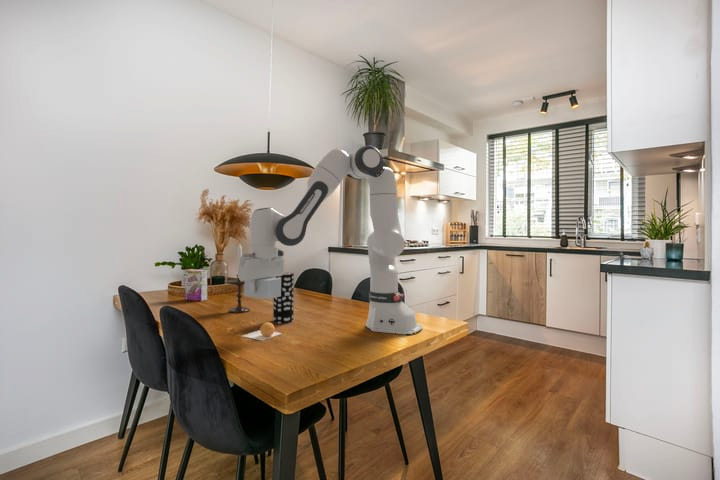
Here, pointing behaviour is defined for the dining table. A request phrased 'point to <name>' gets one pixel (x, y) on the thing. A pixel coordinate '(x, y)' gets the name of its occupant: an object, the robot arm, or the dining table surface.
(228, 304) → the dining table surface
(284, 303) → the white-spotted black cylinder
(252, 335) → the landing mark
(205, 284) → the candy bar box
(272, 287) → the light grey rectangular block
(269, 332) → the ball
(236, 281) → the candlestick
